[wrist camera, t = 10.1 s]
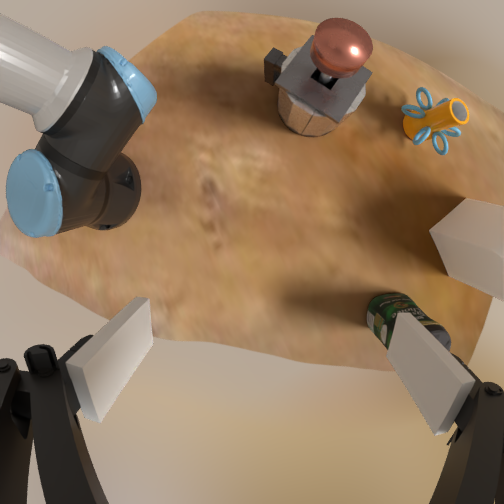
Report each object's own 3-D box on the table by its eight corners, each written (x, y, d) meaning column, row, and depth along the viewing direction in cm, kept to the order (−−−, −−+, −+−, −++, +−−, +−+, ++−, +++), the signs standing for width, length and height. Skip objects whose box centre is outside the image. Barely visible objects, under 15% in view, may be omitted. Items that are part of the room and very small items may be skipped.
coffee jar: (410, 289, 50) (460, 329, 32) (405, 325, 52) (448, 373, 34) (366, 293, 51) (406, 340, 33) (363, 330, 53) (396, 386, 35)
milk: (466, 197, 46) (560, 211, 20) (483, 243, 47) (568, 275, 22) (428, 230, 48) (523, 262, 22) (448, 276, 49) (531, 326, 24)
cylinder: (381, 101, 43) (418, 75, 29) (423, 94, 42) (465, 71, 27) (403, 163, 46) (448, 157, 31) (444, 152, 44) (492, 146, 30)
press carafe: (251, 106, 45) (244, 73, 31) (285, 60, 43) (291, 17, 28) (320, 149, 46) (341, 133, 32) (352, 102, 44) (381, 72, 29)
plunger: (288, 105, 42) (304, 42, 21) (306, 80, 41) (332, 9, 19) (318, 124, 42) (357, 74, 21) (335, 99, 41) (381, 39, 20)
